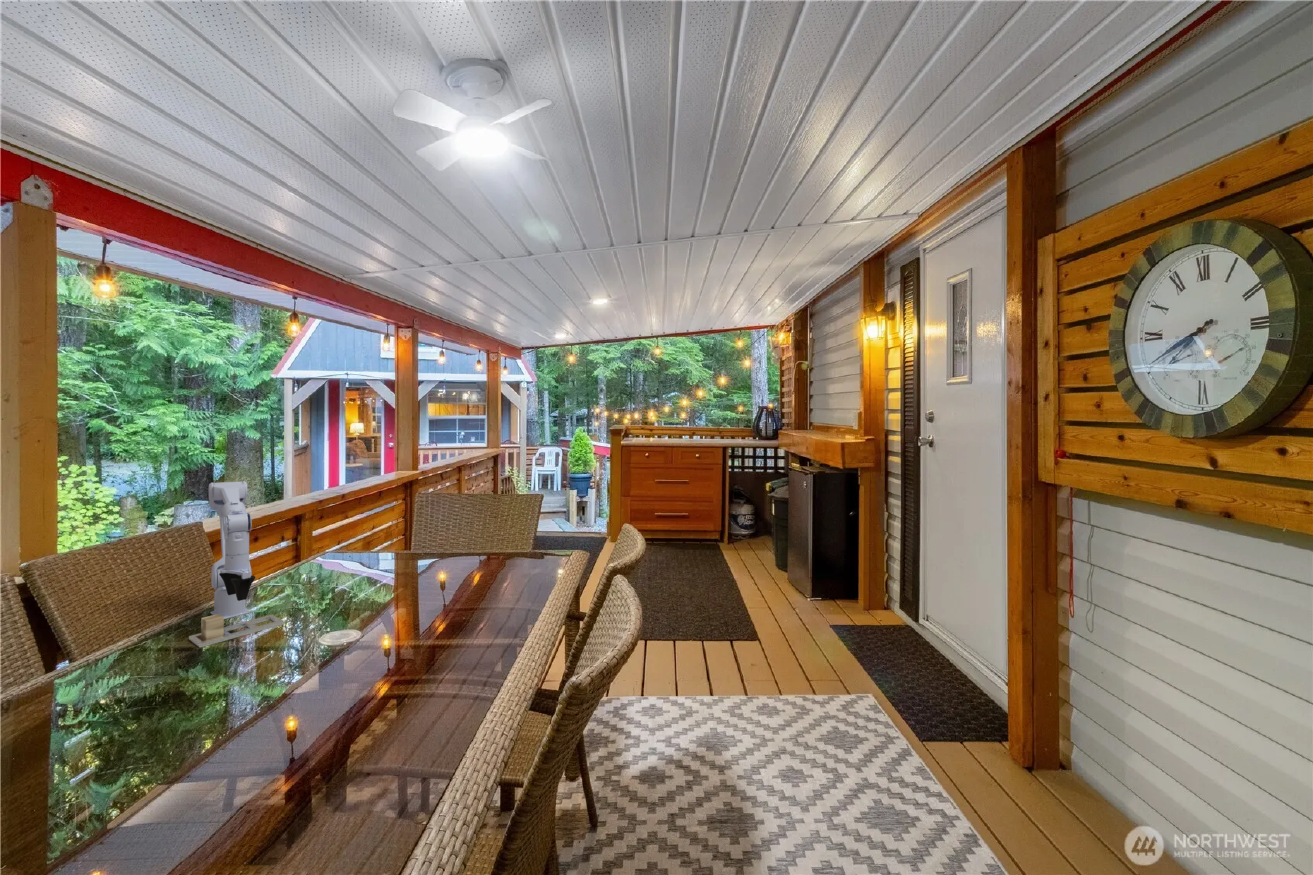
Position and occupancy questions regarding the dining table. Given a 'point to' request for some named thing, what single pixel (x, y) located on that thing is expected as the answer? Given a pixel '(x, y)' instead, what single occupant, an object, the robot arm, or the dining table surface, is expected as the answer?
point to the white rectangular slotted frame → (252, 628)
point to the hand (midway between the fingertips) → (237, 597)
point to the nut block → (212, 627)
